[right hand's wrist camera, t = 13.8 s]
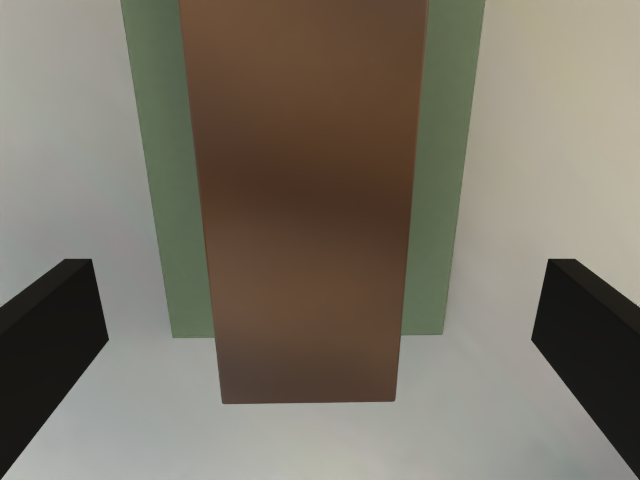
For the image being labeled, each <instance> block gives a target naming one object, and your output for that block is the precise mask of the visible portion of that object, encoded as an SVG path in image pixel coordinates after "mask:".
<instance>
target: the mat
mask: <svg viewBox="0 0 640 480" xmlns="http://www.w3.org/2000/svg"><path fill="white" fill-rule="evenodd" d="M484 5H485V0H429V11H428V23H427V34H426V46H425V58H424V70H423V81H422V93H421V105H420V117H419V128H418V140H417V152H416V163H415V175H414V187H413V199H412V210H411V222H410V234H409V246H408V257H407V269H406V281H405V293H404V304H403V316H402V328H401V335H442V332H443V325H444V317H445V309H446V301H447V293H448V286H449V278H450V270H451V262H452V254H453V247H454V239H455V231H456V223H457V215H458V208H459V200H460V192H461V184H462V176H463V169H464V161H465V153H466V145H467V137H468V130H469V122H470V114H471V106H472V98H473V91H474V83H475V75H476V67H477V59H478V52H479V44H480V36H481V28H482V20H483V13H484ZM121 7H122V13H123V20H124V26H125V32H126V39H127V45H128V52H129V58H130V65H131V71H132V78H133V84H134V91H135V97H136V104H137V110H138V116H139V123H140V129H141V136H142V142H143V149H144V155H145V162H146V168H147V175H148V181H149V188H150V194H151V201H152V207H153V213H154V220H155V226H156V233H157V239H158V246H159V252H160V259H161V265H162V272H163V278H164V285H165V291H166V297H167V304H168V310H169V317H170V323H171V330H172V336H173V338H215V334H214V325H213V316H212V307H211V298H210V289H209V280H208V271H207V261H206V252H205V243H204V234H203V225H202V216H201V207H200V198H199V189H198V180H197V171H196V161H195V152H194V143H193V134H192V125H191V116H190V107H189V98H188V89H187V80H186V71H185V61H184V52H183V43H182V34H181V25H180V16H179V7H178V0H121Z"/></svg>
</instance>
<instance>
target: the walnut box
mask: <svg viewBox="0 0 640 480" xmlns="http://www.w3.org/2000/svg"><path fill="white" fill-rule="evenodd" d="M178 7H179V16H180V25H181V34H182V43H183V52H184V61H185V71H186V80H187V89H188V98H189V107H190V116H191V125H192V134H193V143H194V152H195V161H196V171H197V180H198V189H199V198H200V207H201V216H202V225H203V234H204V243H205V252H206V261H207V271H208V280H209V289H210V298H211V307H212V316H213V325H214V334H215V343H216V352H217V361H218V371H219V380H220V389H221V398H222V403H223V404H265V403H332V402H393V401H395V398H396V386H397V375H398V363H399V351H400V339H401V328H402V316H403V304H404V293H405V281H406V269H407V257H408V246H409V234H410V222H411V210H412V199H413V187H414V175H415V163H416V152H417V140H418V128H419V117H420V105H421V93H422V81H423V70H424V58H425V46H426V34H427V23H428V11H429V0H178Z"/></svg>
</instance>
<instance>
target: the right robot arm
mask: <svg viewBox="0 0 640 480" xmlns="http://www.w3.org/2000/svg"><path fill="white" fill-rule="evenodd" d="M108 340H109V338H108V333H107V328H106V324H105V319H104V314H103V310H102V305H101V300H100V296H99V291H98V286H97V282H96V277H95V272H94V268H93V263H92V259H64V260H63V261H61V262H60V263H59V264H57V265H56V266H55V267H53V268H52V269H51V270H50V271H48V272H47V273H46V274H44V275H43V276H42V277H40V278H39V279H38V280H36V281H35V282H34V283H32V284H31V285H30V286H28V287H27V288H26V289H24V290H23V291H22V292H20V293H19V294H18V295H16V296H15V297H14V298H12V299H11V300H10V301H8V302H7V303H6V304H4V305H3V306H2V307H0V480H1V479H2V477H3V476H4V475H5V474H6V472H7V471H8V470H9V468H10V467H11V466H12V465H13V463H14V462H15V461H16V459H17V458H18V457H19V455H20V454H21V453H22V452H23V450H24V449H25V448H26V446H27V445H28V444H29V443H30V441H31V440H32V439H33V437H34V436H35V435H36V433H37V432H38V431H39V430H40V428H41V427H42V426H43V424H44V423H45V422H46V421H47V419H48V418H49V417H50V415H51V414H52V413H53V411H54V410H55V409H56V408H57V406H58V405H59V404H60V402H61V401H62V400H63V399H64V397H65V396H66V395H67V393H68V392H69V391H70V389H71V388H72V387H73V386H74V384H75V383H76V382H77V380H78V379H79V378H80V377H81V375H82V374H83V373H84V371H85V370H86V369H87V368H88V366H89V365H90V364H91V362H92V361H93V360H94V358H95V357H96V356H97V355H98V353H99V352H100V351H101V349H102V348H103V347H104V346H105V344H106V343H107V342H108ZM531 340H532V342H533V343H534V344H535V346H536V347H537V348H538V349H539V351H540V352H541V353H542V355H543V356H544V357H545V358H546V360H547V361H548V362H549V364H550V365H551V366H552V368H553V369H554V370H555V371H556V373H557V374H558V375H559V377H560V378H561V379H562V380H563V382H564V383H565V384H566V386H567V387H568V388H569V389H570V391H571V392H572V393H573V395H574V396H575V397H576V399H577V400H578V401H579V402H580V404H581V405H582V406H583V408H584V409H585V410H586V411H587V413H588V414H589V415H590V417H591V418H592V419H593V421H594V422H595V423H596V424H597V426H598V427H599V428H600V430H601V431H602V432H603V433H604V435H605V436H606V437H607V439H608V440H609V441H610V443H611V444H612V445H613V446H614V448H615V449H616V450H617V452H618V453H619V454H620V455H621V457H622V458H623V459H624V461H625V462H626V463H627V465H628V466H629V467H630V468H631V470H632V471H633V472H634V474H635V475H636V476H637V477H638V479H639V480H640V307H638V306H637V305H636V304H634V303H633V302H632V301H630V300H629V299H628V298H626V297H625V296H624V295H622V294H621V293H620V292H618V291H617V290H616V289H614V288H613V287H612V286H610V285H609V284H608V283H606V282H605V281H604V280H602V279H601V278H600V277H598V276H597V275H596V274H594V273H593V272H592V271H590V270H589V269H588V268H587V267H585V266H584V265H583V264H581V263H580V262H579V261H577V260H576V259H548V263H547V268H546V272H545V277H544V282H543V286H542V291H541V296H540V300H539V305H538V310H537V314H536V319H535V324H534V328H533V333H532V338H531Z"/></svg>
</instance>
